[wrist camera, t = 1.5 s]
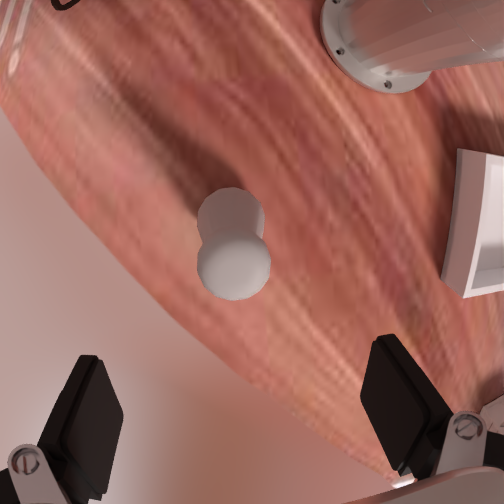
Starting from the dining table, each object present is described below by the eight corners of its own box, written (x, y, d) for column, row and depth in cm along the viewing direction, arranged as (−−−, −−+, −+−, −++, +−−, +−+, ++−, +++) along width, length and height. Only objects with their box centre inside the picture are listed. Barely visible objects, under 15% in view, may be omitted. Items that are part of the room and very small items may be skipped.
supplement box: (505, 392, 49) (533, 427, 37) (495, 412, 51) (520, 446, 40) (482, 405, 49) (510, 444, 37) (473, 425, 51) (497, 462, 40)
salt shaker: (274, 212, 30) (308, 270, 18) (232, 254, 31) (238, 334, 19) (228, 169, 28) (232, 199, 16) (186, 215, 29) (161, 275, 17)
